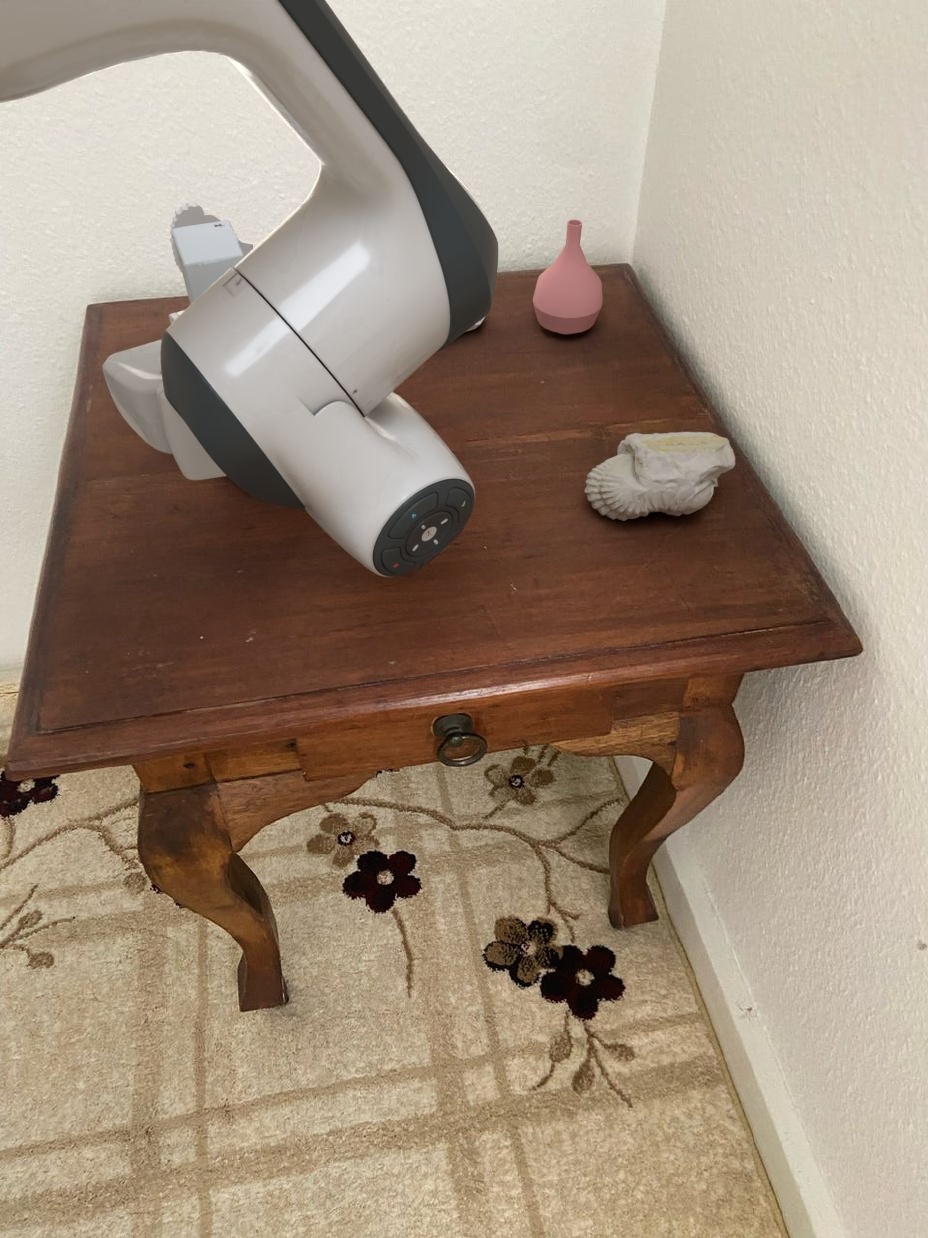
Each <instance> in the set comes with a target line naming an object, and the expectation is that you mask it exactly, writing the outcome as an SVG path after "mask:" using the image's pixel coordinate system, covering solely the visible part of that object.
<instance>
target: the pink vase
mask: <svg viewBox="0 0 928 1238" xmlns="http://www.w3.org/2000/svg"><path fill="white" fill-rule="evenodd" d="M566 223H567V224H566V234H565V244H564V245H563V248H562V249H561V251H560V252H559V254H558V256H557V258H555V261H553V263H551V264H550V265H549V266H547V268H546V269H545V270H543V272H541V273H540V274H539V275H538V278H537V281H536V284H535V289H534V293H533V297H532V302H533V307H534V311H535V315H536V319H537V321H538V324H539V325H540V326H541V327H543V328H544V329H545V330H548V331H550V332H553V333H557V334H560V335H571V334H578V333H583V332H585V331H587V330H589V329H591V328H592V327H593V326H594V325H595V322H596V320H597V318H598V316H599V314H600V311H601V309H602V308H603V307H602V306H603V302H604V299H603V296H604V295H603V284H602V280H601V278H600V276H599V274H597V272H596V271H595V270H594V269H593V268H592V266H591V265H590V264H589V263H588V261H587V259H586V257H585V254H584V251H583V249H582V246H581V237H582V228H583V222H582V220H581V219H580V220H579V219H569V220H568V221H567V222H566Z"/></svg>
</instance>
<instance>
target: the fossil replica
mask: <svg viewBox="0 0 928 1238" xmlns="http://www.w3.org/2000/svg"><path fill="white" fill-rule="evenodd" d="M616 451H617V455H615V456H613V457H610V458H608V459H606V460H604V462H601V463H600V464H598V465H596V466H595V467H592V468H591V471H590V472H589V473H587V475H586V477H587V479H586V480H585V485H586V486H585V489H584V493H585V494H586V498H587V499H586V500H587V501H588V502H590V503H591V507H592V508H593V509H594V510H597V512H598V513H599V514H600V515H601V516H607V518H610V519H611V520H616V519H617V520H619V521H623V522H626V521H627V520H634V519H637V518H639V517H647V516H649V514H650V513H659V512H660V513H664V514H666V515H670V516H676V517H680V516H682V515H690V514H693V513H694V512H695V513H696V512H697V511H699V510H701V509H702V508H704V507H705V506H707V505H708V503H709V502H710V501H711V499H712V496H713V495H714V488H717V487H719V483H718V478H720V476H721V475H722V474H726V473H727V472H729V471H731V470H732V469H734V468H735V466H736V456H735V453H734V449H733V448H732V447H731V444H730V440H729V439H728V438H727V437H723V436H720V435H718V434H716V433H713V432H708V431H705V432H704V431H679V432H667V433H666V432H664V433H660V432H659V433H658V432H654V433H644V434H643V433H639V432H634V433H631V434H627V435H626V436H625V438H624V439H622V440H621V441H620V442H619V445H618V446H617V447H616Z"/></svg>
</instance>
